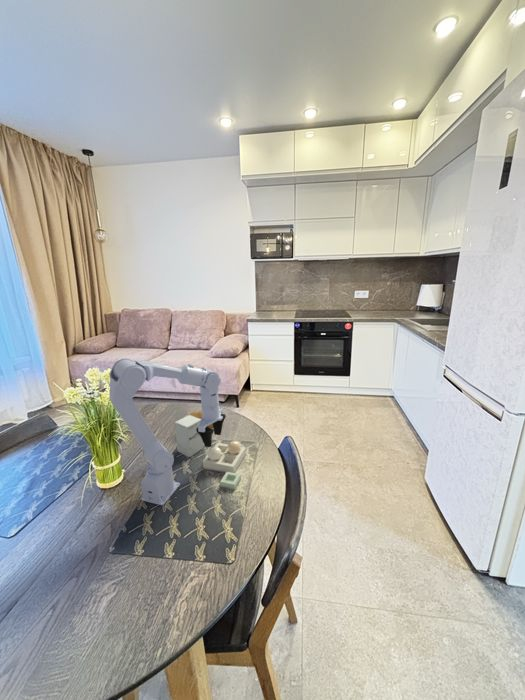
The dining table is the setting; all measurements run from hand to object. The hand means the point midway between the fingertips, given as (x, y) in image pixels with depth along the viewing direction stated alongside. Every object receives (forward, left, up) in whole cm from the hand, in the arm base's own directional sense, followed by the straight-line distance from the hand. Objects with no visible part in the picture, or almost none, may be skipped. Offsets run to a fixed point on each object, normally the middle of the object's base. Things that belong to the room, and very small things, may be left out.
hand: (213, 440), depth 103 cm
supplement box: (+6, +13, -10) cm, 18 cm away
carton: (+3, -3, -10) cm, 11 cm away
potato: (+21, +16, -10) cm, 28 cm away
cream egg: (0, 0, -6) cm, 6 cm away
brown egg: (+5, -5, -6) cm, 9 cm away
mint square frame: (-7, -9, -10) cm, 15 cm away
